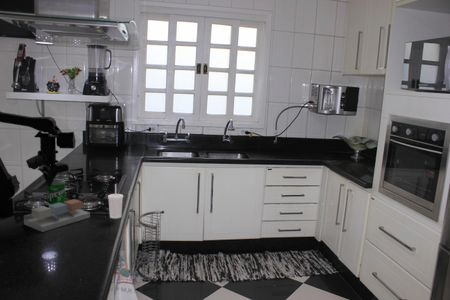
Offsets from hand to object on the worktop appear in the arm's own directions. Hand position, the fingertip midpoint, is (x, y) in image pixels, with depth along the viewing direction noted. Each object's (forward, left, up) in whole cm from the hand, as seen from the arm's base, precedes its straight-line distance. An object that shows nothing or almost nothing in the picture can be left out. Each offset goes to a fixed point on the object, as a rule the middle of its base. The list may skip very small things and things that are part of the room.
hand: (49, 185), depth 165 cm
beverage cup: (+23, +15, -12) cm, 30 cm away
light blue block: (+10, -3, -9) cm, 13 cm away
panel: (+10, -3, -12) cm, 16 cm away
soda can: (-7, +8, -12) cm, 16 cm away
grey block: (+10, -10, -8) cm, 16 cm away
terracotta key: (+10, +4, -9) cm, 14 cm away
